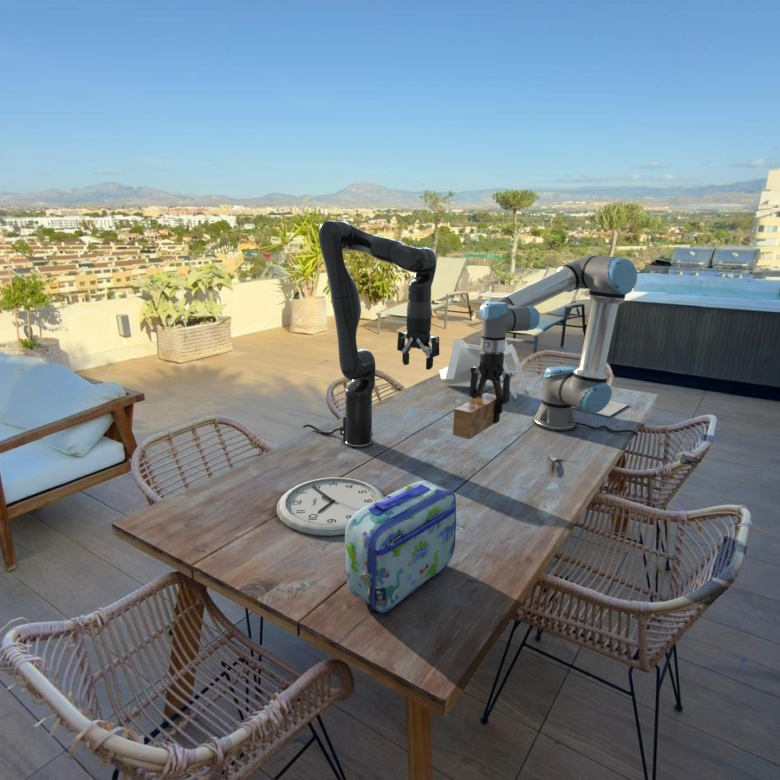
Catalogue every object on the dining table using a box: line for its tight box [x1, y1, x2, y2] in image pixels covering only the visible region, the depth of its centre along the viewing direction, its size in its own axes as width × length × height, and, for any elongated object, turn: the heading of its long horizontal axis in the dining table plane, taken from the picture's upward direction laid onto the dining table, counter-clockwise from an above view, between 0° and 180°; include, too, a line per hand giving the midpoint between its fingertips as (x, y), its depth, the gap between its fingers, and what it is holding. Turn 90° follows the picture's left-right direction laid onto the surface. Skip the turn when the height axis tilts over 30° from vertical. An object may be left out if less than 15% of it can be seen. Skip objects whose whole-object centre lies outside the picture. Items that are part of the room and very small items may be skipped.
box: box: [452, 392, 501, 440], centre depth 166 cm, size 21×6×8 cm, turn 143°
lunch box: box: [344, 480, 457, 614], centre depth 109 cm, size 26×11×21 cm, turn 135°
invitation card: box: [573, 400, 629, 418], centre depth 226 cm, size 21×1×15 cm
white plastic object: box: [438, 338, 531, 400], centre depth 245 cm, size 37×45×31 cm
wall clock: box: [276, 476, 386, 537], centre depth 142 cm, size 30×2×30 cm
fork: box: [549, 449, 560, 474], centre depth 170 cm, size 3×16×2 cm, turn 160°
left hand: (417, 366), depth 164 cm, fingers open, 8 cm apart
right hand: (487, 420), depth 172 cm, fingers closed on box, 6 cm apart
